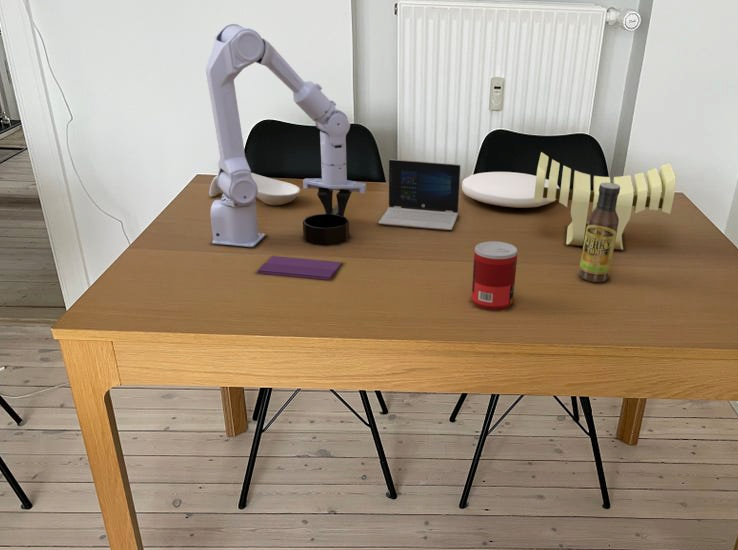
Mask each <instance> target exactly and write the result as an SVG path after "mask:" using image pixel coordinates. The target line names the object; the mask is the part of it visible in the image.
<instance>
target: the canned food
mask: <svg viewBox="0 0 738 550" xmlns="http://www.w3.org/2000/svg"><path fill="white" fill-rule="evenodd" d="M473 252H474V254H473V266H472V267H473V269H472V270H473V271H472V285H471V286H472V287H471V300H472V303H473V304H474V305H475V306H476V307H478V308H480V309H484V310H489V311H501V310H505V309H507V308H509V307H511V305H512V303H513V301H514V294H515V283H516V274H517V263H518V248H517V247H516V246H515V245H513V244H510V243H507V242H503V241H483V242H480V243H478V244H476V245H475V247H474V251H473Z"/></svg>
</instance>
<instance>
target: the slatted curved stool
mask: <svg viewBox="0 0 738 550" xmlns="http://www.w3.org/2000/svg"><path fill="white" fill-rule="evenodd" d="M548 165H549V156H548V155H547V154H545V153H544V152H543V151H541V152H540V155H539V160H538V164H537V169H536V175H535V176H536V185H535V195H534V202H536V201H542V200H543V198H547V201H553V202H556V200H558V203H559V204H561V205H563V206H564V207H566V208H568V203H569V201H570V202H571V204H570V214H569V215H570V217H571V221H570V223H569V224H568V226H567V227H566V228H567V229H566V242H565V243H566V245H567V246H578V247H579V246H580V247H583V246H584V240H585V234H586V228H587V226H588V214H589V213H588V212H589V207H590V203H591V209H590V214H591V213H592V212H593V210H594V209H595V208H596V207H597V202H598V197H599V186H600V184H601V183H611V176H599V175H593V184H592V185H593V187H592V188H593V191H591V174H588V173H584V172H581V171H579V170H574V173H573V183H572V184H573V185H572V186H573V187H572V189H570V188H571V187H570V186H571V174H572V168H570V167H568V166H566V165H563V168H562V173H561V175H562V176H561V181H560V182H561V184H560V189H558V188H557V185H558V180H559V171H560V162H558V161H556V160H554V159H553V158H552V159H551V164H550V169H549V170H550V171H549V176H548V180H549V184H548V188H547V187H544V186H545V179H547V170H548ZM676 179H677V178H676V175H675V172H674V169H673V166H672V164H671V162H667V163H665V164H662V165H661V166H660V169H659V171H658V169H657V167H655V168H651V169H650V170H647V172H646V177H645V174H644V171H643V172H639V173H635V174H634V176H633V179H632V175H631V174H628V175H624V176H621V175H620V176H613V180H612V183H615V184H618V185H619V186H620V192H619V194H618V197H617V203H616V209H615V210H616V213H617V215H618V218H619V223H618V227H617V235H616V240H615V245H614V250H620V251H623V250H624V245H623V233H624V230H625V228H626V226H627V225H628V223H629V221H630V220H631V214H632V208H633V210H634V214H638V213H640V212H643V211H645V210H646V208H648V210H649V211H659V209H660V210H661V213H666V214H668V215H671V213H672V209H673V208H672V207H673V203H674V199H675V198H674V197H675V193H676V183H677V180H676ZM632 180H633V181H632ZM633 184H634V187H633ZM555 199H556V200H555Z"/></svg>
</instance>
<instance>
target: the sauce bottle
mask: <svg viewBox="0 0 738 550" xmlns="http://www.w3.org/2000/svg"><path fill="white" fill-rule="evenodd" d="M619 192H620V186H619V185H618V184H615V183H613V182H610V183H601V184H600V186H599V197H598V202H597V207H596V208H595V209H594V210H593V212H592V213H591V212H590V214H589V216H588V218H587V222H588V226H587V228H586V234H585V235H584V242H583V246H582V250H581V251H582V252H581V258H580V263H579V271H578V275H579V277H580V279H582V280H585V281H588V282H591V283H603V282H606V281H607V280H608V279H609V273H610V272H611V271H610V270H611V266H612V261H613V255H614V250H615V249H614V245H615V240H616V235H617V227H618V223H619V218H618V215H617V213H616V210H615V209H616V203H617V197H618V194H619Z"/></svg>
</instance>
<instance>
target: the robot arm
mask: <svg viewBox="0 0 738 550" xmlns="http://www.w3.org/2000/svg"><path fill="white" fill-rule="evenodd" d="M211 49H212V50H211V52H210V55H209V57H208V60H207V63H206V66H205V74H206V81H207V85H208V86H207V87H208V91H209V97H210V98H209V99H210V105H211V110H212V116H213V122H214V128H215V134H216V140H217V146H218V152H219V160H218V162H217V167H218V172H217V175H216V176H217V185H218V188H219V189H220V192H222V196H221V199H215V200H213V202H212V204H211V206H210V223H211V224H210V225H211V231H212V232H211V233H212V239H213V240H212V241H211V243H212V244H213V245H221V246H222V245H223V246H233V247H243V248H254V247H255V246H256V245H257V244H258V243H260V241H262V240H263V239H264V238H265V237H266V233H262V232H259V224H258V214H257V213H258V212H257V202H256V199H257V194H258V187H257V184H256V182H255V181H254V180H253V178H252V176H251V173H252V170H251V168H250V166H249V165H250V164H249V163H248V160H247V158H246V153H245V147H244V139H243V134H242V133H243V132H242V127H241V126H242V125H241V120H240V119H241V118H240V113H239V107H238V99H237V94H236V93H237V92H236V87H235V79H236V78H237V77H238V75H240V73H241V72H242V71H243V70H244V69H245V68H248V67H249V66H251V65H253V64H255V63H256V64H258V65H262V66H265V67H266V68H267V69H268V70H269V71H270V72H271V73H272V74H274V76H275V77H277V78H278V79H279V80H280V81H281V82H282V83H283V84H284V85H285V86H286V87H287V88H288V89H289V90H290V91H291V92H292V97H293V98H292V99H293V102H294V103H295V104H296V105H297V106H298V107H299V108H300V109H301V110H302V111H303V112H304V113H305V114H306V115H307V117H309V119H311V120H312V121H313V122H314V125H315V127H316V128H317V129H318V130H320V131H319V139H320V141H319V143H320V144H319V145H320V160H321V161H320V165H321V167H320V168H321V177H320V178H307V177H306V178H304V179H303V180H302V187H303V190H304V189H305V190H308V189H316V190H318V191H317V194H316V195H317V198H318V199H319V201H320V202H321V205H322V206H323V209H324V212H325V214H329V212H330V211H331V210H332V209H333V208H334V207H333V198H334V197H333V195H334V194H333V193H334V191H338V192H337V193H336V201H337V205H338V215H340V216H343V217H345V211H346V207H347V205H348V202H349V199H350V197H351V195H352V193H359V194H365V193H366V192H367V183H366V182H359V181H354V180H350V179H348V177H347V176H348V175H347V170H348V169H347V139H346V138H347V135H348V133H349V131H350V128H351V123H350V122H349V120H348V119H349V118H348V116H347V115H346V114H345V112H343V111H341V110H339V109H337V108H336V105H337V103H336V102H335V101H334V100H330V98H328V96H327V95H326V94H324V93H323V91H322V90H323V87H322V86H321V85H320V84H319V83H314V82H313V81H311V80H309V81H304V79H302V77H301V76H300V75H299V74H298V73H297V72H296V71H295V70H294V69H293V67H292V66H291V65H290V64H289V63H288V61H287V60H285V58H284V57H283V56H282V55H281V54H280V53H279V52H278V50H277V49H276V48H275V47H274V46H273V45H272V44H271V43H270V42H269V41H268V40H266V39H265V38H264V37H263V38H262V36H261V35H260V33H259V32H257V31H256V30H254V29H252V28H249V27H248V28H247V27H243V26H241V25H239V24H237V23H231V24H227V25H225V26H224V27H223V28H222V29H221V30H220V31H219V32H218V33H217V34H216V35H215V36H214V43H213V47H212V48H211Z"/></svg>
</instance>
